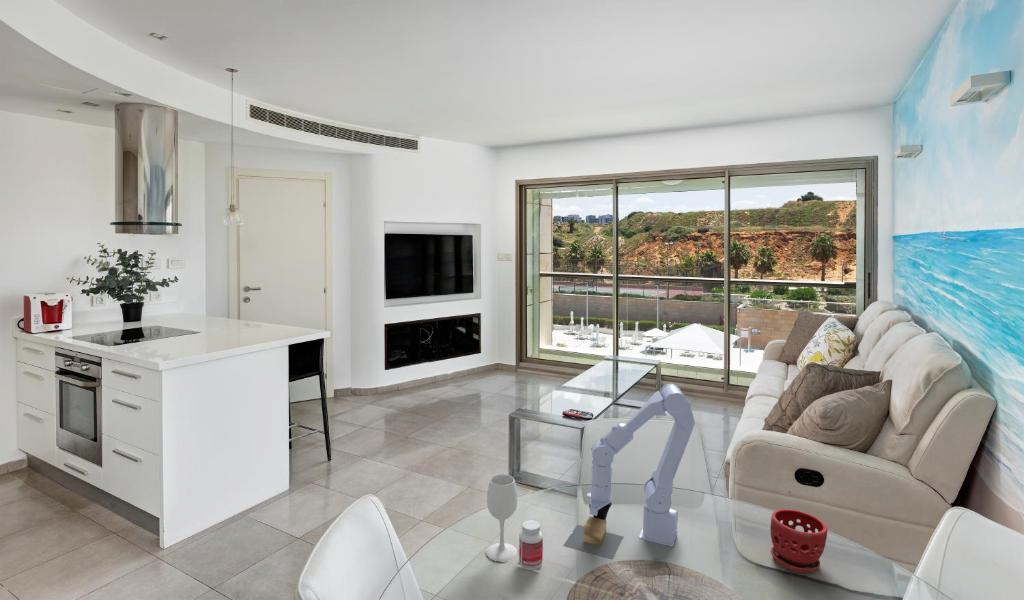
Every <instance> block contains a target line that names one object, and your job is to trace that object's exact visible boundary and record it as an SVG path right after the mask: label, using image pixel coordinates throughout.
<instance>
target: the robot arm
mask: <svg viewBox="0 0 1024 600" xmlns="http://www.w3.org/2000/svg"><path fill="white" fill-rule="evenodd" d="M692 409H693V408H692V405H691V402H690V401H689V400H688V399H687V397H686V396H685V394H684V392H683V391H682V390H681V389H680V387H679V386H678V385H676V384H673V383H667V384H664V385H662V387H661V388H660V389H659V390H657V391H655V392H654V393H653V395H652V396H650V398H649V399H648V400H646V402H645V403H644V404H643V405H642V406H641V407H640V408H639V409H638V410H637V411H636V412H634V414H633V415H632V416H631V417H630V418H629V419H628V420H627V421H626V422H620V423H617V424H613V425H612V426H611V427H610V428H611V429H610V430H609V432H608V433H606V434H605V435H604V436H601V437H600V438H599V440H596V441H595V442H593V444H592V447H591V448H590V449H591V455H592V457H591V458H592V460H591V464H592V465H591V474H590V479H591V480H590V492H588V493H587V494H586V498H587V499H589V500H590V501H589V505H588V506H589V507H588V508H589V515H591V516H592V517H594V518H598V519H602V520H607V516H608V513H609V511H610V508H611V506H612V473H613V470H612V463H613V462H614V459H615V458H614V457H615V455H617V454H618V453H619V452H620V451H621V450H622V449H624V448H625V447H626V446H627V445H629V443H630V442H631V441H633V439H634V433H635V432H636V431H637V430H639V429H640V428H642V426H644V425H645V424H646V423H648V422H649V421H650V420H651V419H652V418H654V417H655V416H658V417H659V416H660V417H661V416H662V417H663V416H664V417H666V416H667V413H668V414H669V416H671V417H672V418H673V421H674V422H673V425H672V427H671V430H670V434H669V436H668V439H667V441H666V444H665V447H664V449H663V452H662V455H661V456H660V460H659V461H658V465H657V467H656V470H655V471H652V474H651V475H650V478H649V479H647V480H646V482H644V485H643V489H644V490H643V491H644V493H645V495H646V499H645V500H644V502H643V516H642V517H643V519H642V520H643V521H642V529H641V531H640V532H639V535H638V538H639V540H644V541H648V542H652V543H656V544H660V545H664V546H667V545H668V547H671V548H673V547H674V546H675V542H676V540H677V539H676V538H677V536H678V521H679V518H678V517H679V512H678V510H677V509H674V508H672V494H673V487H674V479H675V476H676V474H677V472H678V469H679V467H680V463H681V461H682V458H683V457H684V453H685V450H686V448H687V445H688V443H689V441H690V437H691V435H692V433H693V430H694V428H695V423H696V422H695V418H694V414H693V410H692ZM666 412H667V413H666Z"/></svg>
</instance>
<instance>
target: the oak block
mask: <svg viewBox="0 0 1024 600" xmlns="http://www.w3.org/2000/svg"><path fill="white" fill-rule="evenodd" d="M607 522H608V521H607V519H606V520H602V519H598V518H594V517H593V516H589V517H588V518H587V520H586V521H585V523H584V524H583V526H584V542H588V543H591V544H595V545H599V546H601V545H602V543H603V542H604V540H605V538H606V532H607Z"/></svg>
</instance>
